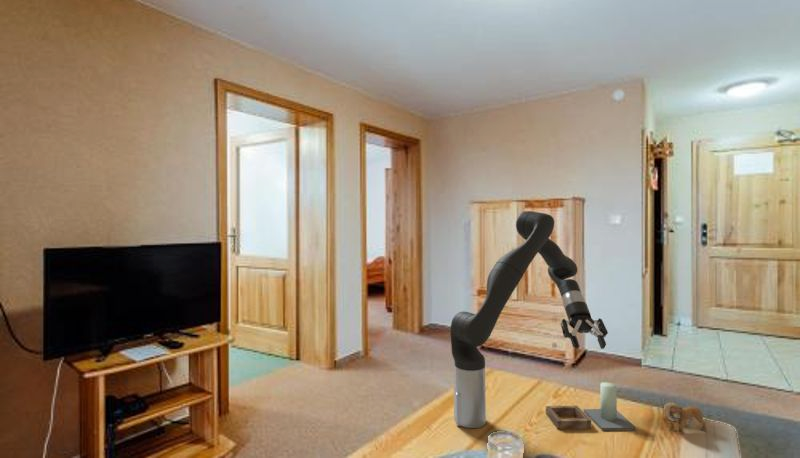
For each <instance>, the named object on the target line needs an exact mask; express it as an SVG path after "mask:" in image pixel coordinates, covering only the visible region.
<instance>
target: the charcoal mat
mask: <svg viewBox="0 0 800 458" xmlns="http://www.w3.org/2000/svg"><path fill="white" fill-rule="evenodd" d="M582 411H583V412H584V414H585V415H586V416H587V417H588V418H589V419H590V420H591V422H593V423H594V424H595V426H596V427H598V429H600V430H601V431H602V432H603V431H604V432H605V431H608V432H609V431H612V432H613V431H637V426H636V425H635V424H633V423H632V422H631V421H629V420H628V418H626V417H625V416H624V415H623V414H622V413H621V412H619V411H618V410H617V420H616V421H607V420H604V419H602V418H601V408H584V409H583V410H582Z"/></svg>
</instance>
